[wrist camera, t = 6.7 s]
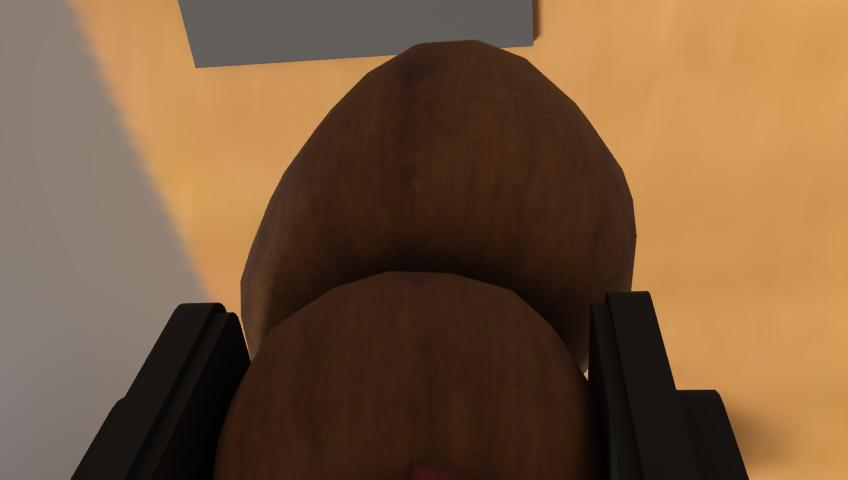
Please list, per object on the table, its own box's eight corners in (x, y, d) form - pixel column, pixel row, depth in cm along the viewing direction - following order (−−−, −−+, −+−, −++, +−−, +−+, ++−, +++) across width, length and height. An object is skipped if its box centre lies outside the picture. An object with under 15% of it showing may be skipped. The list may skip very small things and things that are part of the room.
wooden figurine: (452, -65, 15) (184, 925, 2) (652, 119, 17) (1110, 1269, 4) (263, 164, 18) (-281, 1115, 6) (448, 300, 20) (350, 1266, 7)
